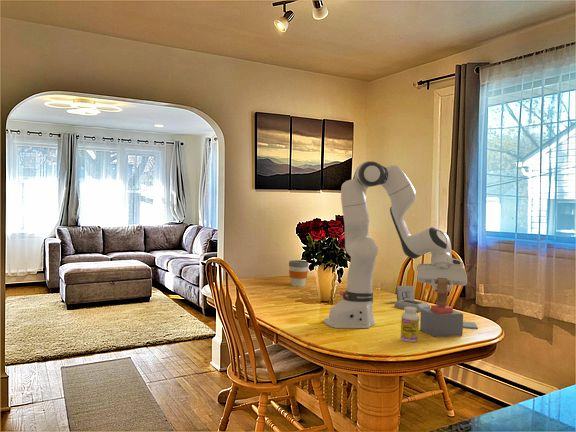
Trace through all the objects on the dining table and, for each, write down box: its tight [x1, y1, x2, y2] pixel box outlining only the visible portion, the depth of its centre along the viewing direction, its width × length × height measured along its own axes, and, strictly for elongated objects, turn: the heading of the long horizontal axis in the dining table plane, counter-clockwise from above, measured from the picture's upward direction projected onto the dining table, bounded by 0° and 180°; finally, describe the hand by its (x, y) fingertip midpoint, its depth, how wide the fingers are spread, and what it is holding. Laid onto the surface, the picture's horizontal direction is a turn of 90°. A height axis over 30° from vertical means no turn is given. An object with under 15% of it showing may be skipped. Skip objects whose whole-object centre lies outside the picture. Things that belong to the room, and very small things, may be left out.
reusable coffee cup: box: [288, 259, 309, 287], centre depth 300 cm, size 13×12×15 cm
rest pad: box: [463, 321, 479, 330], centre depth 210 cm, size 9×9×1 cm
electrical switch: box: [395, 285, 416, 302], centre depth 255 cm, size 9×5×9 cm, turn 104°
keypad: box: [394, 299, 431, 313], centre depth 242 cm, size 10×4×15 cm
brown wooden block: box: [436, 278, 448, 306], centre depth 197 cm, size 4×4×11 cm
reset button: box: [430, 304, 454, 314], centre depth 197 cm, size 6×6×5 cm
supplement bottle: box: [400, 306, 420, 343], centre depth 185 cm, size 7×7×13 cm
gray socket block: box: [419, 307, 464, 338], centre depth 197 cm, size 13×11×9 cm
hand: (442, 291), depth 196 cm, fingers closed on brown wooden block, 4 cm apart
